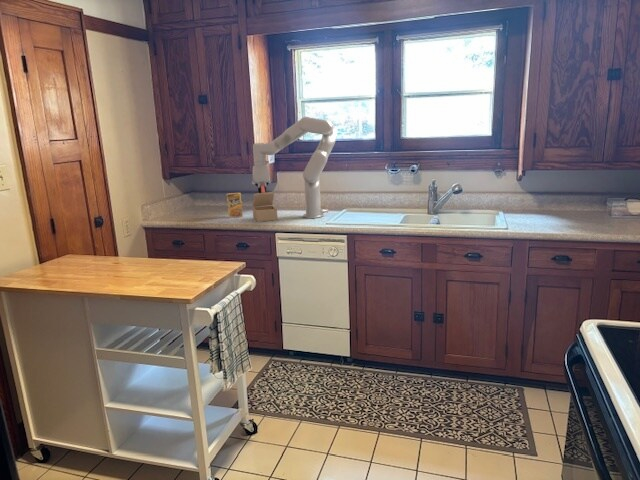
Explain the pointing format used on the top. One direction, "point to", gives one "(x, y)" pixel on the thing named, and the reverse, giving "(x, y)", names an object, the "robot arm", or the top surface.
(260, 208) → the carton
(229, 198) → the candy box
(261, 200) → the taped cardboard box
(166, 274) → the top surface
